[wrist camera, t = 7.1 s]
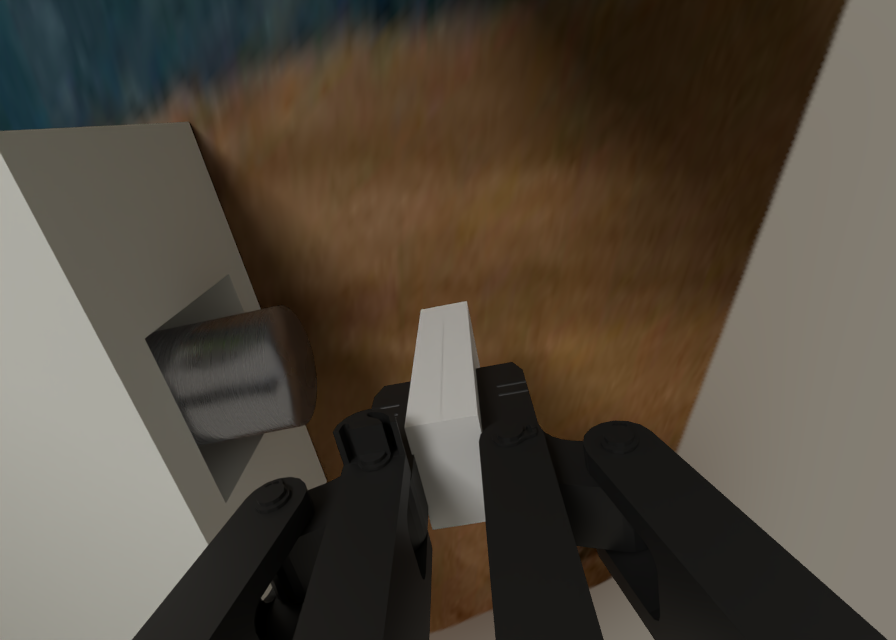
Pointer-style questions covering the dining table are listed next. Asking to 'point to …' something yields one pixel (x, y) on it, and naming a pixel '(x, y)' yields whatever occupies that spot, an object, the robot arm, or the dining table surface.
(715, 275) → the dining table surface
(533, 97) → the dining table surface
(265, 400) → the axle
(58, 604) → the white block with hole
